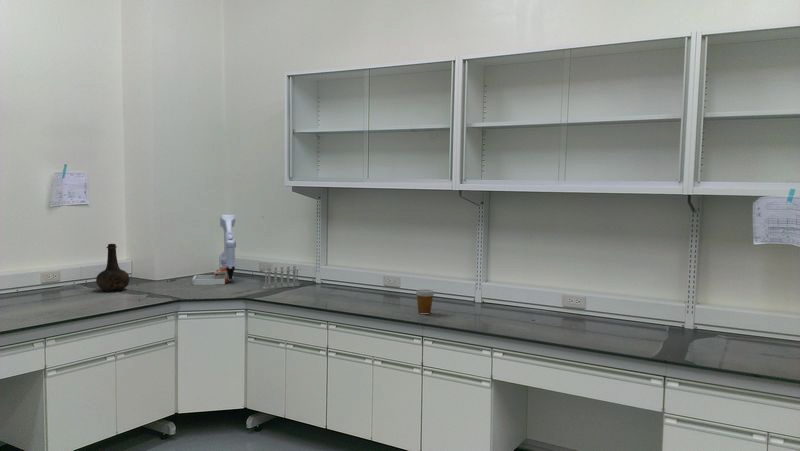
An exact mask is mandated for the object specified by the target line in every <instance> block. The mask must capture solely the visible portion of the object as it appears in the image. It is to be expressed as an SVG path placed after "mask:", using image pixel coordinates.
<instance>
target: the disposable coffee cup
mask: <svg viewBox="0 0 800 451" xmlns="http://www.w3.org/2000/svg"><path fill="white" fill-rule="evenodd" d="M415 294H416V301H417V303H416V304H417V311H418V312H419V313H430V314H431V311H432V303H433V298H434V295H435V293H434V290H430V289H418V290H416V293H415ZM418 312H417V313H418ZM419 313H418V314H419Z"/></svg>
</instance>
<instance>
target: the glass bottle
mask: <svg viewBox="0 0 800 451" xmlns="http://www.w3.org/2000/svg"><path fill="white" fill-rule="evenodd" d="M117 248H118V246H117V245H116V244H115V243H108V244H107V246H106V247H105V249H107V260H106V261H107V262H106V267H105V269H104V270H102V271H100V272H99V273H98V274H97V276H96V278H95V282H96V286H98V288H99V289H101V290H102V291H104V292H118V291H122V290H124V289H125V288H127V287H128V285H129V283H130V281H131V280H130V275H129V273H128V272H126V271H125V270H123V269H121V268H120V266H119V263H118V257H117Z"/></svg>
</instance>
